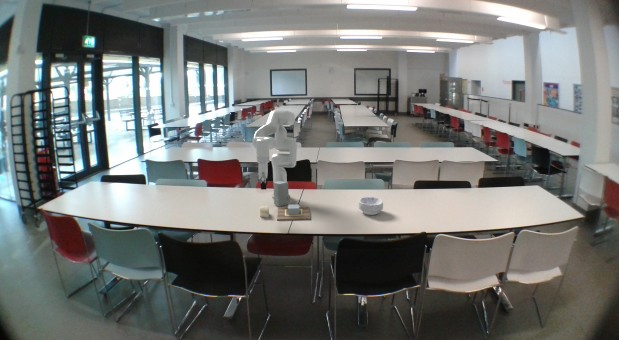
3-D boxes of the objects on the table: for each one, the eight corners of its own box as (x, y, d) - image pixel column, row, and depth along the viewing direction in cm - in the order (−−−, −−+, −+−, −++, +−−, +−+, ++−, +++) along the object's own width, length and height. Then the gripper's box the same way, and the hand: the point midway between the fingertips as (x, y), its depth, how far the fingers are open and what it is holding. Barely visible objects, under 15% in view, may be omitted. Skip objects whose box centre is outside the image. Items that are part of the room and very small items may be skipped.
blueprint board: (278, 208, 229) (277, 201, 228) (308, 207, 230) (308, 200, 229) (277, 220, 210) (276, 212, 208) (310, 219, 211) (310, 211, 209)
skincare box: (278, 207, 232) (278, 184, 228) (273, 204, 237) (272, 181, 233) (289, 204, 236) (289, 182, 232) (283, 201, 242) (283, 179, 238)
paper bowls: (364, 218, 212) (364, 205, 210) (354, 209, 227) (354, 198, 225) (387, 215, 216) (387, 203, 214) (376, 207, 231) (376, 195, 229)
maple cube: (261, 214, 220) (260, 206, 219) (269, 213, 220) (268, 206, 219) (260, 217, 215) (260, 209, 214) (268, 216, 216) (268, 209, 214)
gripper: (257, 156, 217) (259, 183, 221) (255, 162, 200) (256, 191, 204) (270, 156, 217) (271, 182, 221) (268, 162, 200) (269, 191, 205)
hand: (264, 187), depth 213 cm, fingers open, 9 cm apart
